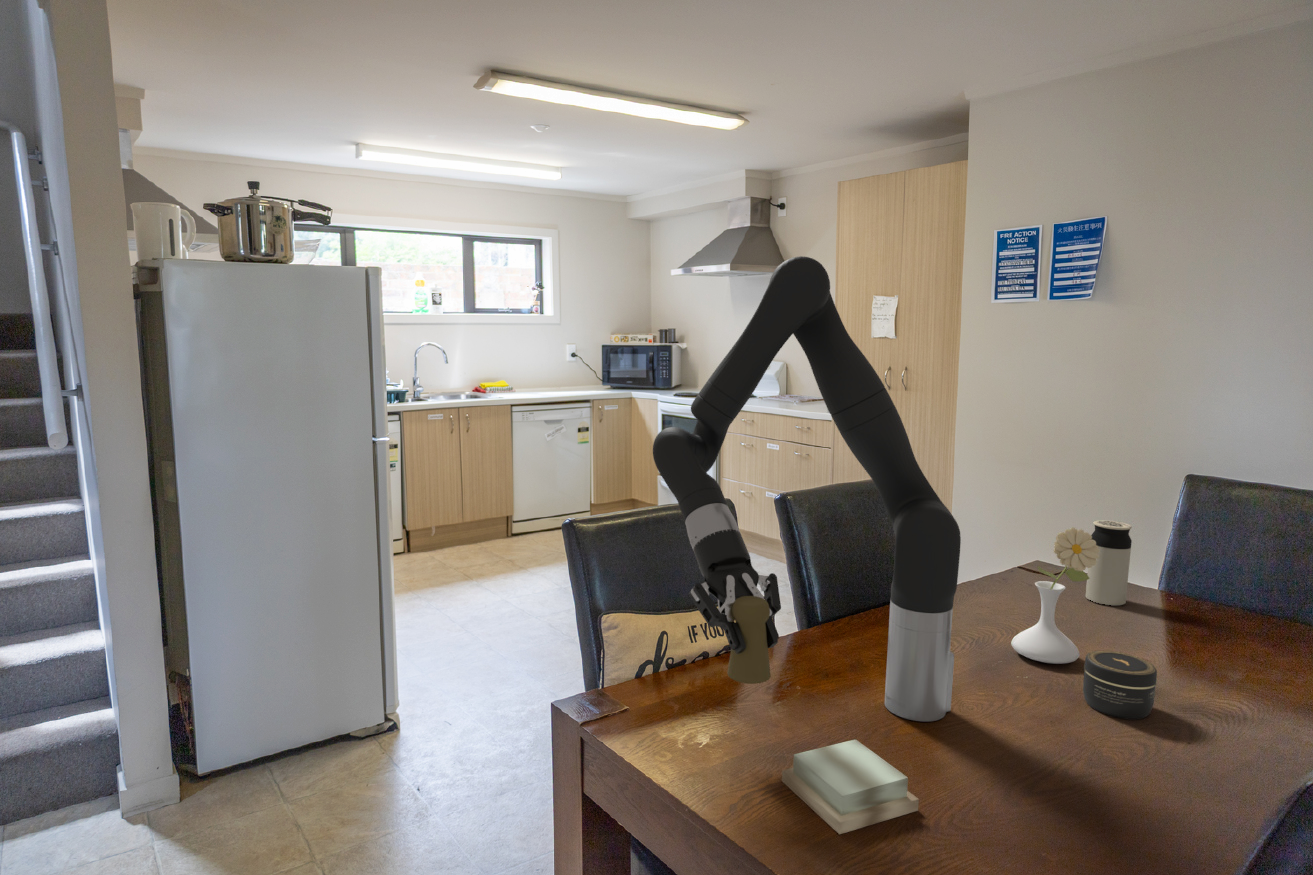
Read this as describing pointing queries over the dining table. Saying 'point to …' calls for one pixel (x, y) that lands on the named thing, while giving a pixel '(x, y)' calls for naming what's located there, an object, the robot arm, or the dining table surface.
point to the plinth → (849, 786)
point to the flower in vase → (1045, 636)
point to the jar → (1119, 684)
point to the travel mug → (1110, 563)
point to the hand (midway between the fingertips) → (757, 647)
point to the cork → (751, 641)
